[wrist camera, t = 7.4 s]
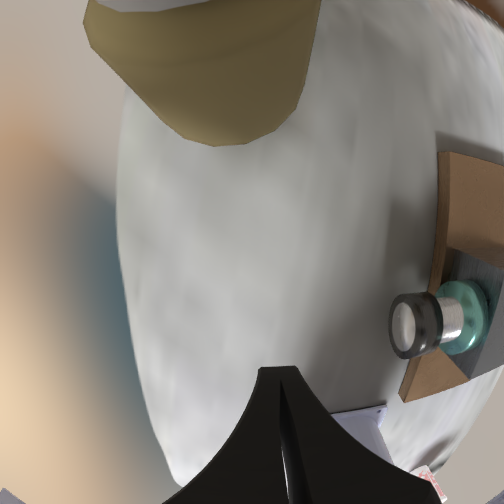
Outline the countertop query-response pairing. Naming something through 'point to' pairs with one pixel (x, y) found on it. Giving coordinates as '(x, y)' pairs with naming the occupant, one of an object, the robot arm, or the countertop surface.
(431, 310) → the shaft
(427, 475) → the beverage cup
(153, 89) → the squeeze bottle
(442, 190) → the sharpening stone
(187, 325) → the countertop surface
